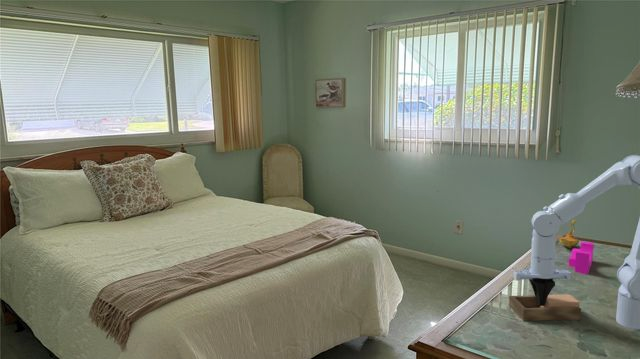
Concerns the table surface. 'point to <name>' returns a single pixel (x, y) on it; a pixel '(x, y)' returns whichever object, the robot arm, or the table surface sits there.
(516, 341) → the table surface
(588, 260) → the toy block
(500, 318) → the table surface
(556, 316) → the walnut cubby
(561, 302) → the terracotta brick
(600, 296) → the table surface
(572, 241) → the magic lamp
